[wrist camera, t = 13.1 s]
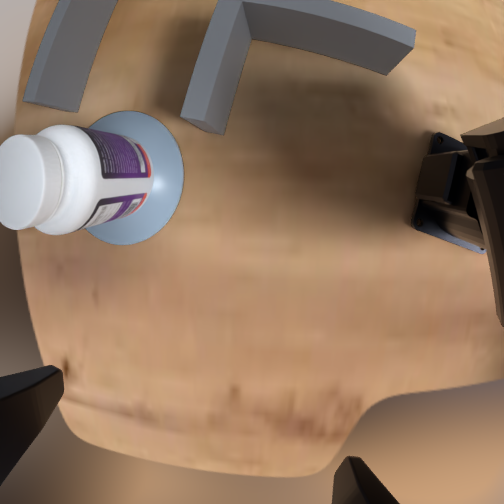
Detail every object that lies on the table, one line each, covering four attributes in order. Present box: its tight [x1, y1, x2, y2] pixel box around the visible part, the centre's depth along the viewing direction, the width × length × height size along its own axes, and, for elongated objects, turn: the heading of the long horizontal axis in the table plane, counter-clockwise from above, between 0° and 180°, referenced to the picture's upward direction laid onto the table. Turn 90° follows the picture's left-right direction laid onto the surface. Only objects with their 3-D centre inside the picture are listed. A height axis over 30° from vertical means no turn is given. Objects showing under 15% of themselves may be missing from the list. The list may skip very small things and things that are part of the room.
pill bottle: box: [0, 125, 154, 235], centre depth 15 cm, size 5×5×10 cm
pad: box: [85, 111, 184, 245], centre depth 20 cm, size 9×9×1 cm
